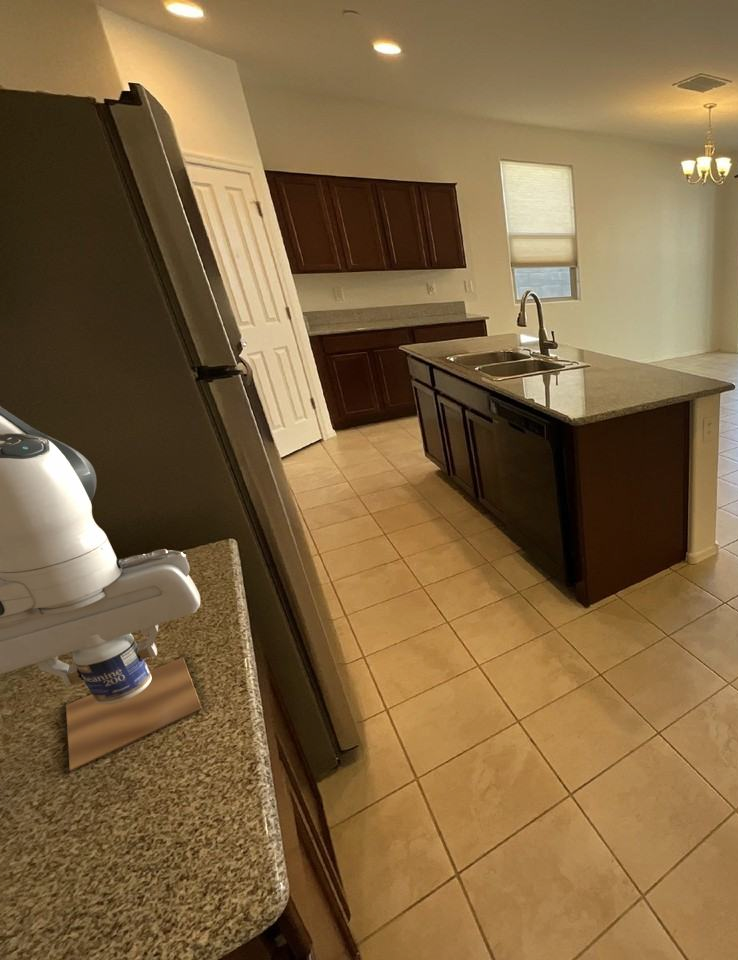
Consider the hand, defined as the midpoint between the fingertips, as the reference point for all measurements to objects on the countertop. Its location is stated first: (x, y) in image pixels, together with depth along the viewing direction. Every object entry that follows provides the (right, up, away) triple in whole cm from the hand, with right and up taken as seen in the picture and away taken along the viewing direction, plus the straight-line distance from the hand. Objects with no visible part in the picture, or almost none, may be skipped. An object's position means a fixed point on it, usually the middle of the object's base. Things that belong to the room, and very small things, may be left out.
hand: (113, 668), depth 65 cm
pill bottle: (0, -3, +2) cm, 4 cm away
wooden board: (0, -6, +3) cm, 7 cm away
